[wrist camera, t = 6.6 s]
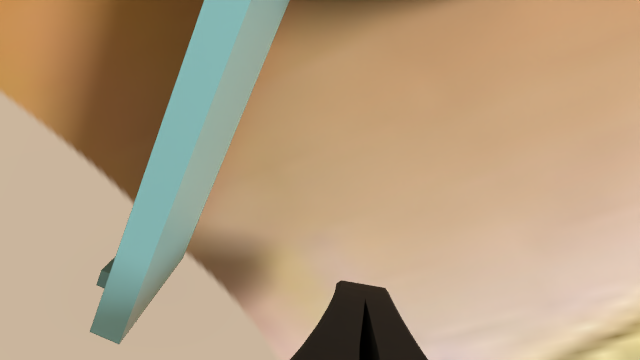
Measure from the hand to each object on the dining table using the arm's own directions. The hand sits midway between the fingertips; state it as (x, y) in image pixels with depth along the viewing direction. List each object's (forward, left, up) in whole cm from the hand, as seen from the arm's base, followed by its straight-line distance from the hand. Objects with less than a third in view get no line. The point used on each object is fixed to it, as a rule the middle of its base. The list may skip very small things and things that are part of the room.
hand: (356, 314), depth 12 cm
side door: (+2, +6, -3) cm, 7 cm away
